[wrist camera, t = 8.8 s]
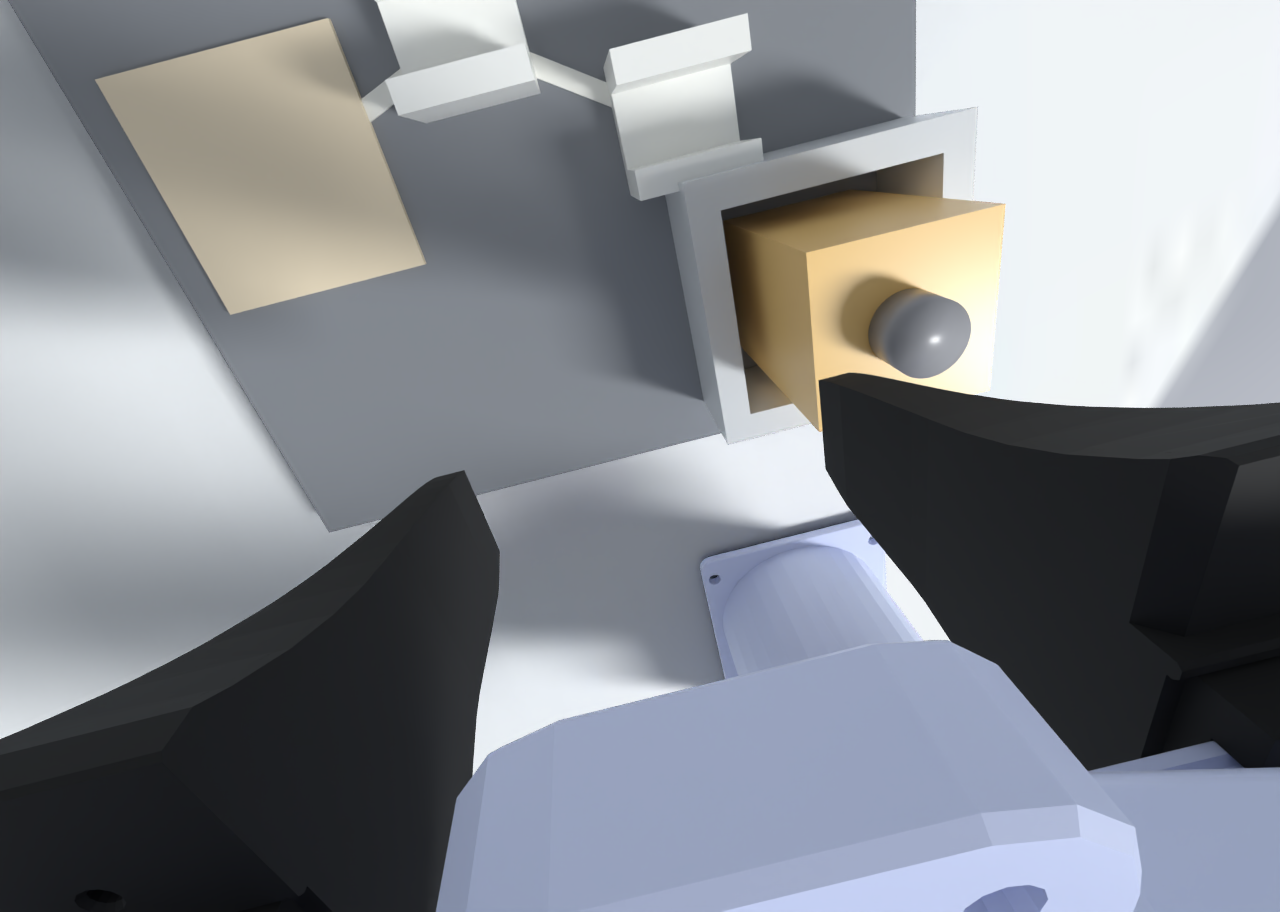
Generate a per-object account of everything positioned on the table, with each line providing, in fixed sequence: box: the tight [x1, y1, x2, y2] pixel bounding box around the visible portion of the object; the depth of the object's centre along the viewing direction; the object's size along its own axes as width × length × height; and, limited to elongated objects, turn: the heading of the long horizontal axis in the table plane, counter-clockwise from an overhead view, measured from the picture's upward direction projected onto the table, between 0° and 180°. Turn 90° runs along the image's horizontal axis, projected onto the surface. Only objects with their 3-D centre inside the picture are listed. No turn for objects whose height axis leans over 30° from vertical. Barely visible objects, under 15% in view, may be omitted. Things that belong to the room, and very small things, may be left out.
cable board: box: [8, 0, 978, 532], centre depth 16 cm, size 16×22×4 cm
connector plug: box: [723, 189, 1005, 432], centre depth 15 cm, size 4×4×8 cm
